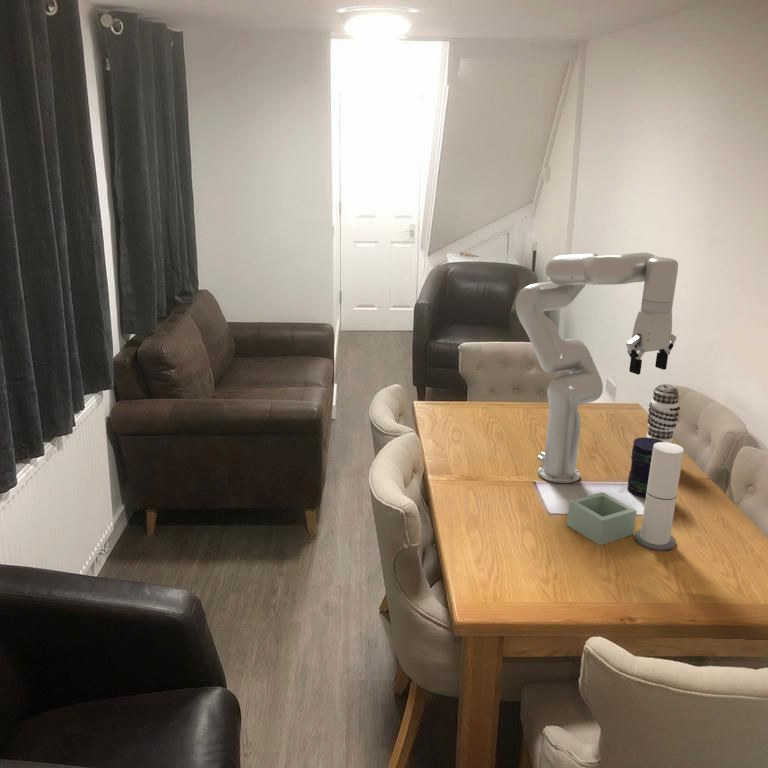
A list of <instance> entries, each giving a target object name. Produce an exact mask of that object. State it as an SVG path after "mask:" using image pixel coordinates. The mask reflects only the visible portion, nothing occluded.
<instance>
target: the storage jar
mask: <svg viewBox="0 0 768 768" xmlns="http://www.w3.org/2000/svg"><path fill="white" fill-rule="evenodd" d="M658 442H664V441H661V440H658V439H654V438H646V437H638V438H636V439H634V440H633V444H632V449H631V450H632V451H631V456H630V457H631V459H630V460H631V466H630V470H629V473H628V477H627V486H626V487H627V488H626V489H627V492H628V493H630V494H631V495H632V496H635V497H638V498H642V499H646V492H647V485H648V479H649V472H650V465H651V458H652V451H653V445H654V444H655V443H658Z"/></svg>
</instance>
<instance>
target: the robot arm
mask: <svg viewBox="0 0 768 768" xmlns="http://www.w3.org/2000/svg"><path fill="white" fill-rule="evenodd" d="M678 270H679V263H678V261H677V260H676V259H674V258H670V257H660V256H657V255H655V254H653V253H651V252H650V253H649V252H634V253H633V252H631V253H623V254H616V255H615V254H614V255H600V254H597V253H594V252H593V253H592V252H591V253H569V254H561V255H557V256H554V257H553V258H551V259H550V260H549V261H548V263H547V264H546V267H545V274H546V276H547V279H548V280H549V281H545V282H544V281H543V282H536V283H531V284H529V285H527V286H524V287H523V288H521V289H520V291H519V292H518V294H517V295H516V296H517V297H516V299H515V312H516V315H517V318H518V320H519V323H520V324H521V325H522V327H523V329H524V331H525V332H526V334H527V336H528V338H529V341H530V344H531V346H532V348H533V350H534V353H535V356H536V357H537V360H538V362H539V365H540V367H541V369H542V370H543V371H544V372H545V373H547V374H550V375H553V374H560V373H565V372H569V374H565V375H561V376H557V377H556V378H554V379H553V380H551V382H550V383H549V385H548V388H547V393H546V395H547V401H548V402H547V403H548V417H547V418H548V419H547V428H546V429H547V431H546V439H545V448H544V449H545V450H544V451H541V453H539V454H538V456H536V457H537V458H536V459H537V460H538V461H540V462H541V465H540V466H539V467H538V468H537V474H538V475H539V477H540V478H542V479H544V480H546V481H549V482H551V483H558V484H572V483H575V482H577V481H579V480H580V479H581V472H580V471H579V470H578V468H577V459H578V450H579V443H580V442H579V441H580V433H581V416H580V413H579V411H578V410H579V409H578V407H579V406H582V405H586V404H588V403H593V402H595V401H597V400H598V399H600V398H601V396H602V394H603V391H604V390H603V389H604V387H603V386H604V385H603V380H602V377H601V375H600V372H599V371H598V368H597V367H596V363H595V362H594V360H593V356H592V354H591V353H590V350H589V349H588V347H587V346H586V344H584V342H583V341H581V340H579V339H577V338H566V339H563V338H562V337H561V336H560V333H559V332H558V328H557V326H556V325H555V324H554V322H553V321H552V319H550V318H549V317H548V316H547V315H546V314H545V313H544V312H547V311H554V310H560V309H565V308H566V307H569V306H570V305H571V304H572V303H573V301H575V299H576V298H577V297H578V295H580V293H581V292H582V291H583V289H584V288H585V286H587V285H591V286H595V285H599V286H600V285H601V286H602V285H605V286H606V285H607V286H608V285H609V286H610V285H613V286H614V285H627V284H632V283H634V284H635V283H642V282H644V284H643V291H642V298H641V306H640V310H639V311H638V312H637V314H636V315H637V316H636V318H635V322H634V326H633V329H632V334H631V335H632V336H631V339H630V340H628V341H627V342H626V349H627V354H628V355H629V358H630V362H629V372H630V373H632V374H635V375H641V373H642V372H641V370H642V364H643V359H642V357H643V355H644V354H645V353H649V352H654V351H658V352H657V353H656V358H655V364H654V366H655V368H657V369H660V370H664V371H665V370H667V366H668V360H669V355H670V354H671V350H672V349H673V347H674V345H675V342H676V341H677V336H676V335H674V334H673V333H672V330H673V311H672V310H673V305H674V298H675V293H676V285H677V277H678V272H679V271H678Z"/></svg>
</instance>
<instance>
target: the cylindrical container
mask: <svg viewBox="0 0 768 768" xmlns="http://www.w3.org/2000/svg"><path fill="white" fill-rule="evenodd" d="M684 450H685V449H684V448H683V447H682V446H681V445H679V444H676V443H674V442H673V443H668V442H658V443H655V444H654V445H653V451H652V458H651V465H650V472H649V479H648V485H647V492H646V498H644V506H643V513H642V514H643V515H642V520H641V528H640V530H641V533H640V537H641V538H642V539H643V540H644V541H646V542H648V543H651V544H657V545H663V544H667V543H668V542H669V539H670V535H671V533H672V526H673V520H674V514H675V507H676V501H677V497H678V496H677V494H678V489H679V482H680V476H681V471H682V465H683V464H682V463H683V457H684V452H685V451H684Z"/></svg>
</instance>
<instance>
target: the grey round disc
mask: <svg viewBox="0 0 768 768" xmlns="http://www.w3.org/2000/svg"><path fill="white" fill-rule="evenodd" d="M640 533H641V529H639V530H636V532H635V533H634V540H635V542H636V543H637V544H638V545H640V546H641V547H643V548H646V549H649V550H652V551H656V552H659V551H660V552H666V551H667V552H668V551H671V550H674V548H676V544H677V540H676V538H675V537H674V536H673V535H672V534H670V539H669V542H668V543H667V544H663V545H657V544H651V543H648V542H646V541H644V540H643V539H642V538H641V537H640Z"/></svg>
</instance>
